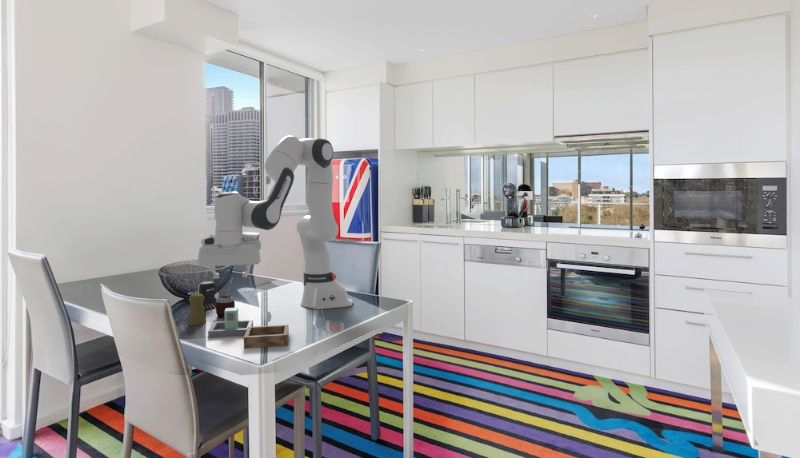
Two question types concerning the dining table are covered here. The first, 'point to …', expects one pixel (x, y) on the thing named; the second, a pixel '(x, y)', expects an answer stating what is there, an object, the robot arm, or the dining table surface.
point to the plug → (231, 318)
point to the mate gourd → (224, 303)
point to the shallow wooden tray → (266, 336)
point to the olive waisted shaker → (196, 310)
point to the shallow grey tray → (229, 332)
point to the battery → (208, 294)
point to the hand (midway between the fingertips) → (230, 277)
